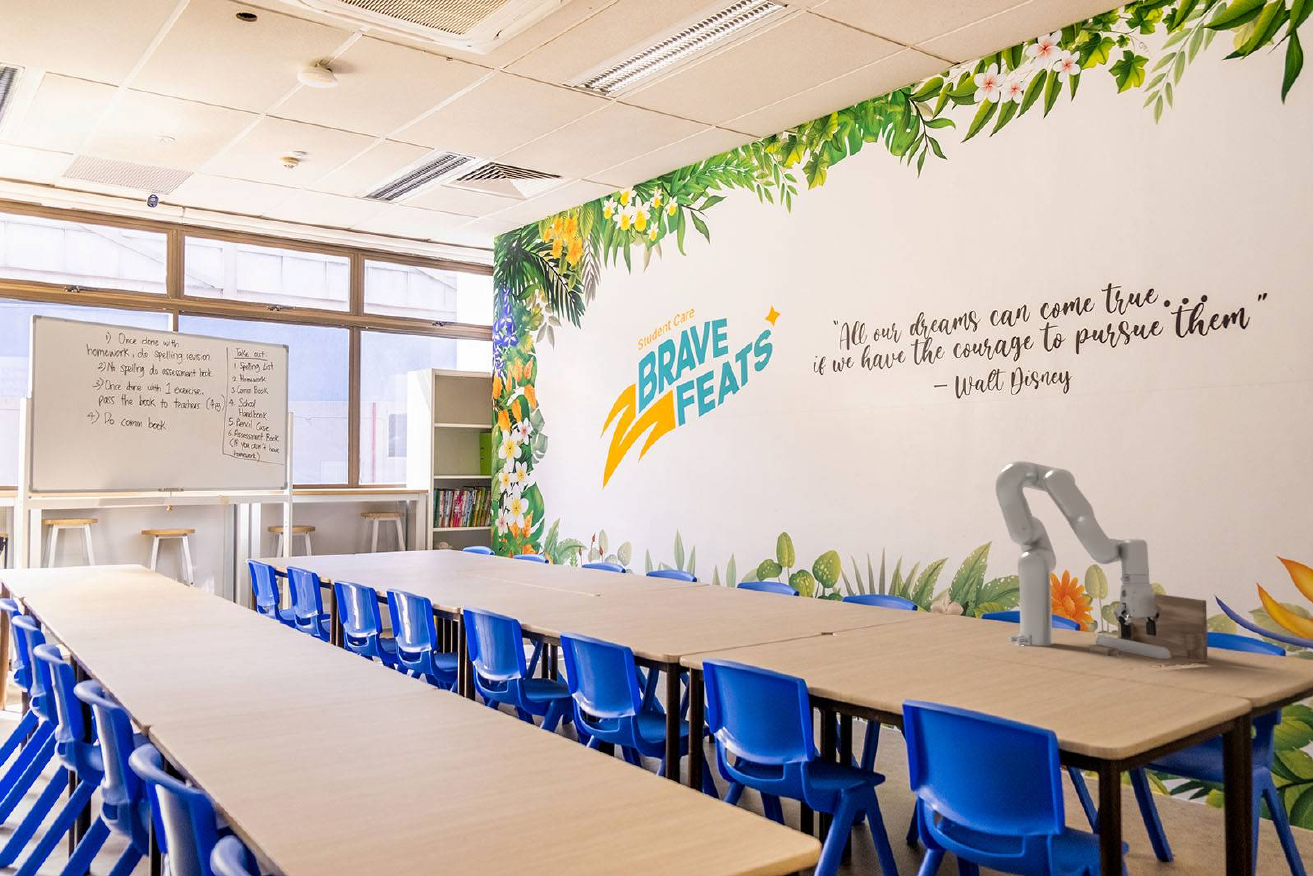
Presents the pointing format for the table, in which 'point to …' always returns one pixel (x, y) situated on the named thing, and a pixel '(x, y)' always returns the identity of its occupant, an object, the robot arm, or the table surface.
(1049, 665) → the table surface
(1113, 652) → the offcut top
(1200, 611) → the wooden panel stand
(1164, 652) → the tube
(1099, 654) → the offcut low
